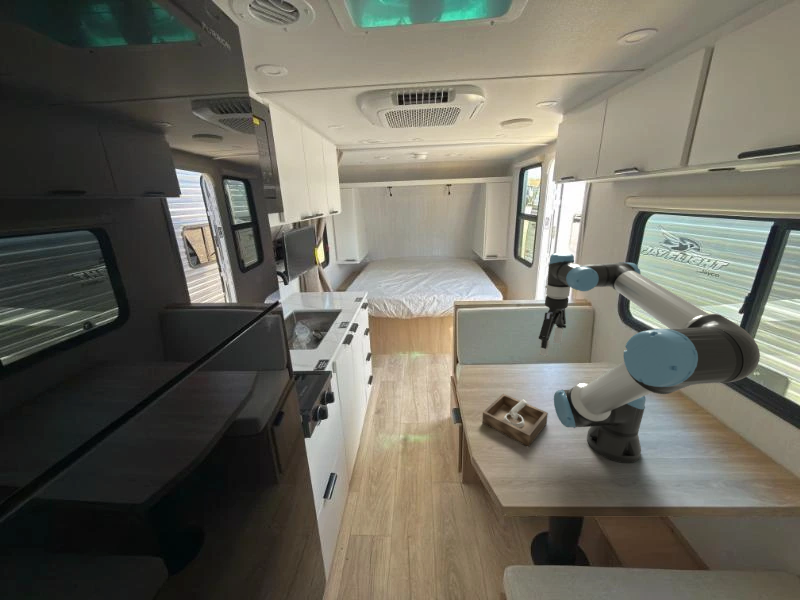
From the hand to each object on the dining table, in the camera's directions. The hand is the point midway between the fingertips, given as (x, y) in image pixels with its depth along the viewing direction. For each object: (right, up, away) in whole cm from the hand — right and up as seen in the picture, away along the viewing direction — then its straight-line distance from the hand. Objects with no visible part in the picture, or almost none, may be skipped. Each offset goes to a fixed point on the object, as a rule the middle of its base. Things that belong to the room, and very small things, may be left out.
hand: (550, 348), depth 117 cm
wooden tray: (-14, -29, 0) cm, 32 cm away
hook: (-14, -28, 0) cm, 31 cm away
